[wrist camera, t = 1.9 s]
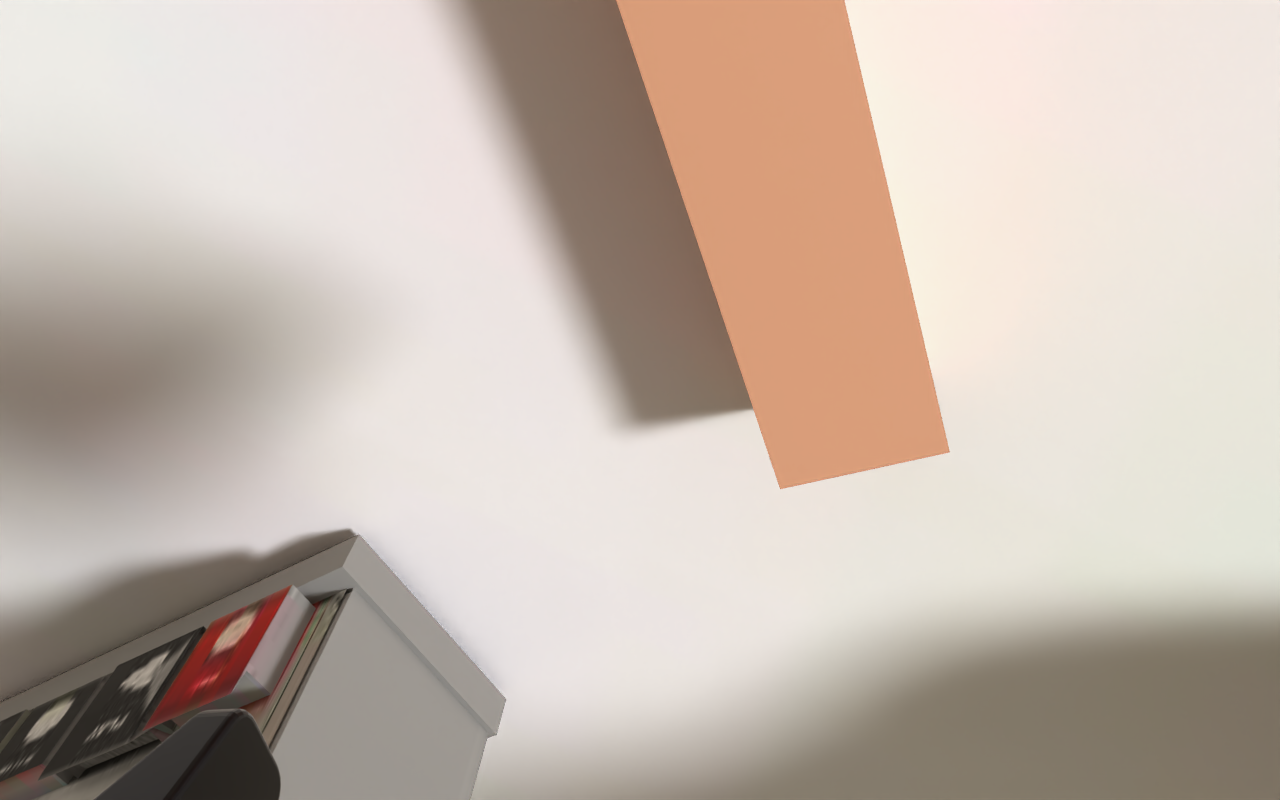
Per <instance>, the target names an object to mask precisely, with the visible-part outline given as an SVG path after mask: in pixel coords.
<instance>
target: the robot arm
mask: <svg viewBox="0 0 1280 800" xmlns="http://www.w3.org/2000/svg"><path fill="white" fill-rule="evenodd" d="M280 790H281V777H280V772H279V768H278V765H277V763H276V761H275V759H274V757H273V755H272V753H271V751H270V749H269V747H268V745H267V743H266V741H265V739H264V737H263V735H262V733H261V731H260V729H259V727H258V725H257V723H256V721H255V719H254V717H253V716H252V715H251V714H250V713H249V712H247V711H246V710H244V709H216V710H206V711H202V712H200V713H198V714H196V715H195V716H194V717H192V718H191V719H190V720H188V721H187V722H186V723H185V724H184V725H182V726H181V727H180V728H179V729H178V730H176V731H175V732H174V733H173V734H172V735H170V736H169V737H168V738H167V739H166V740H164V741H163V742H162V743H161V744H160V745H158V746H157V747H156V748H155V749H154V750H152V751H151V752H150V753H149V754H148V755H146V756H145V757H144V758H143V759H142V760H140V761H139V762H138V763H137V764H136V765H134V766H133V767H132V768H131V769H130V770H128V771H127V772H126V773H125V774H124V775H122V776H121V777H120V778H119V779H118V780H116V781H115V782H114V783H113V784H112V785H110V786H109V787H108V788H107V789H105V790H104V791H103V792H102V793H101V794H99V795H98V796H97V797H96V798H95V799H93V800H279V797H280Z"/></svg>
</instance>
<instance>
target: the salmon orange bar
mask: <svg viewBox="0 0 1280 800" xmlns="http://www.w3.org/2000/svg"><path fill="white" fill-rule="evenodd" d="M616 2H617V5H618V7H619V10H620V13H621V16H622V19H623V22H624V25H625V28H626V31H627V34H628V37H629V40H630V43H631V46H632V49H633V52H634V55H635V58H636V61H637V64H638V67H639V70H640V73H641V76H642V79H643V82H644V85H645V88H646V91H647V94H648V97H649V100H650V103H651V106H652V109H653V112H654V115H655V118H656V121H657V124H658V127H659V130H660V133H661V135H662V138H663V141H664V144H665V147H666V150H667V153H668V156H669V159H670V162H671V165H672V168H673V171H674V174H675V177H676V180H677V183H678V186H679V189H680V192H681V195H682V198H683V201H684V204H685V207H686V210H687V213H688V216H689V219H690V222H691V225H692V228H693V231H694V234H695V237H696V240H697V243H698V246H699V249H700V252H701V255H702V258H703V260H704V263H705V266H706V269H707V272H708V275H709V278H710V281H711V284H712V287H713V290H714V293H715V296H716V299H717V302H718V305H719V308H720V311H721V314H722V317H723V320H724V323H725V326H726V329H727V332H728V335H729V338H730V341H731V344H732V347H733V350H734V353H735V356H736V359H737V362H738V365H739V368H740V371H741V374H742V377H743V380H744V383H745V385H746V388H747V391H748V394H749V397H750V400H751V403H752V406H753V409H754V412H755V415H756V418H757V421H758V424H759V427H760V430H761V433H762V436H763V439H764V442H765V445H766V448H767V451H768V454H769V457H770V460H771V463H772V466H773V469H774V472H775V475H776V478H777V481H778V484H779V487H780V489H783V488H788V487H792V486H797V485H801V484H806V483H811V482H815V481H820V480H824V479H829V478H834V477H838V476H843V475H847V474H852V473H857V472H861V471H866V470H870V469H875V468H880V467H884V466H889V465H893V464H898V463H903V462H907V461H912V460H916V459H921V458H926V457H930V456H935V455H939V454H944V453H949V452H950V451H949V447H948V443H947V439H946V434H945V430H944V426H943V421H942V417H941V413H940V409H939V404H938V400H937V396H936V391H935V387H934V383H933V379H932V374H931V370H930V366H929V361H928V357H927V353H926V349H925V344H924V340H923V336H922V331H921V327H920V323H919V319H918V314H917V310H916V306H915V301H914V297H913V293H912V289H911V284H910V280H909V276H908V272H907V267H906V263H905V259H904V254H903V250H902V246H901V242H900V237H899V233H898V229H897V224H896V220H895V216H894V212H893V207H892V203H891V199H890V194H889V190H888V186H887V182H886V177H885V173H884V169H883V164H882V160H881V156H880V152H879V147H878V143H877V139H876V134H875V130H874V126H873V122H872V117H871V113H870V109H869V104H868V100H867V96H866V92H865V87H864V83H863V79H862V74H861V70H860V66H859V62H858V57H857V53H856V49H855V44H854V40H853V36H852V32H851V27H850V23H849V19H848V14H847V10H846V6H845V2H844V0H616Z"/></svg>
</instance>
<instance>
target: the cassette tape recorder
mask: <svg viewBox="0 0 1280 800" xmlns="http://www.w3.org/2000/svg"><path fill="white" fill-rule="evenodd" d="M505 701H506V699H505V697H504V696H503V695H502V694H501V693H500V692H499V691H498V690H497V688H496V687H495V686H494V685H493V684H492V683H491V682H490V681H489V679H488V678H487V677H486V676H485V675H484V674H483V673H482V672H481V670H480V669H479V668H478V667H477V666H476V665H475V664H474V663H473V662H472V660H471V659H470V658H469V657H468V656H467V655H466V654H465V653H464V651H463V650H462V649H461V648H460V647H459V646H458V645H457V644H456V642H455V641H454V640H453V639H452V638H451V637H450V636H449V635H448V633H447V632H446V631H445V630H444V629H443V628H442V627H441V626H440V625H439V623H438V622H437V621H436V620H435V619H434V618H433V617H432V616H431V614H430V613H429V612H428V611H427V610H426V609H425V608H424V607H423V605H422V604H421V603H420V602H419V601H418V600H417V599H416V598H415V596H414V595H413V594H412V593H411V592H410V591H409V590H408V589H407V588H406V586H405V585H404V584H403V583H402V582H401V581H400V580H399V579H398V577H397V576H396V575H395V574H394V573H393V572H392V571H391V570H390V568H389V567H388V566H387V565H386V564H385V563H384V562H383V561H382V559H381V558H380V557H379V556H378V555H377V554H376V553H375V552H374V551H373V549H372V548H371V547H370V546H369V545H368V544H367V543H366V542H365V540H364V539H363V538H362V537H361V536H360V535H357V536H355V537H352V538H350V539H348V540H346V541H344V542H342V543H340V544H337V545H335V546H333V547H331V548H329V549H327V550H325V551H323V552H320V553H318V554H316V555H314V556H312V557H310V558H308V559H306V560H303V561H301V562H299V563H297V564H295V565H293V566H291V567H289V568H286V569H284V570H282V571H280V572H278V573H276V574H274V575H272V576H269V577H267V578H265V579H263V580H261V581H259V582H257V583H255V584H252V585H250V586H248V587H246V588H244V589H242V590H240V591H237V592H235V593H233V594H231V595H229V596H227V597H225V598H223V599H220V600H218V601H216V602H214V603H212V604H210V605H208V606H206V607H203V608H201V609H199V610H197V611H195V612H193V613H191V614H189V615H186V616H184V617H182V618H180V619H178V620H176V621H174V622H172V623H169V624H167V625H165V626H163V627H161V628H159V629H157V630H154V631H152V632H150V633H148V634H146V635H144V636H142V637H140V638H137V639H135V640H133V641H131V642H129V643H127V644H125V645H123V646H120V647H118V648H116V649H114V650H112V651H110V652H108V653H106V654H103V655H101V656H99V657H97V658H95V659H93V660H91V661H89V662H86V663H84V664H82V665H80V666H78V667H76V668H74V669H71V670H69V671H67V672H65V673H63V674H61V675H59V676H57V677H54V678H52V679H50V680H48V681H46V682H44V683H42V684H40V685H37V686H35V687H33V688H31V689H29V690H27V691H25V692H23V693H20V694H18V695H16V696H14V697H12V698H10V699H8V700H6V701H3V702H1V703H0V800H93V799H95V798H96V797H97V796H98V795H99V794H101V793H102V792H103V791H104V790H105V789H107V788H108V787H109V786H110V785H112V784H113V783H114V782H115V781H116V780H118V779H119V778H120V777H121V776H122V775H124V774H125V773H126V772H127V771H128V770H130V769H131V768H132V767H133V766H134V765H136V764H137V763H138V762H139V761H140V760H142V759H143V758H144V757H145V756H146V755H148V754H149V753H150V752H151V751H152V750H154V749H155V748H156V747H157V746H158V745H160V744H161V743H162V742H163V741H164V740H166V739H167V738H168V737H169V736H170V735H172V734H173V733H174V732H175V731H176V730H178V729H179V728H180V727H181V726H182V725H184V724H185V723H186V722H187V721H188V720H190V719H191V718H192V717H194V716H195V715H196V714H198V713H200V712H202V711H206V710H216V709H244V710H246V711H247V712H249V713H250V714H251V715H252V716H253V717H254V719H255V721H256V723H257V725H258V727H259V729H260V731H261V733H262V735H263V737H264V739H265V741H266V743H267V745H268V747H269V749H270V751H271V753H272V755H273V757H274V759H275V761H276V763H277V765H278V768H279V772H280V777H281V790H280V797H279V800H470V798H471V795H472V791H473V788H474V784H475V780H476V777H477V773H478V770H479V766H480V762H481V759H482V755H483V751H484V748H485V744H486V741H487V738H489V737H492V736H494V735H497V731H498V727H499V724H500V720H501V716H502V713H503V709H504V705H505Z"/></svg>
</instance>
